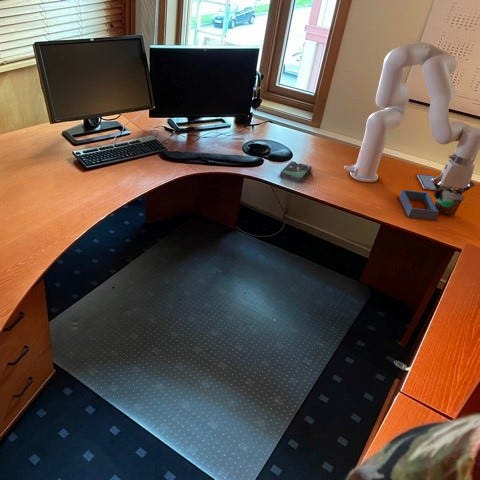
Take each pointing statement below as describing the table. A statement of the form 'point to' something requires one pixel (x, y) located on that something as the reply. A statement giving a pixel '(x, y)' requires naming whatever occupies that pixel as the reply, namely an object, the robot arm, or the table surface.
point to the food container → (449, 201)
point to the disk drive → (295, 171)
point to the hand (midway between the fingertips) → (445, 198)
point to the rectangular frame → (415, 212)
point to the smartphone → (426, 181)
